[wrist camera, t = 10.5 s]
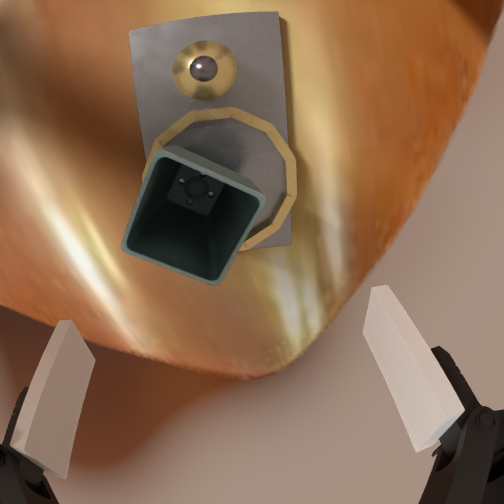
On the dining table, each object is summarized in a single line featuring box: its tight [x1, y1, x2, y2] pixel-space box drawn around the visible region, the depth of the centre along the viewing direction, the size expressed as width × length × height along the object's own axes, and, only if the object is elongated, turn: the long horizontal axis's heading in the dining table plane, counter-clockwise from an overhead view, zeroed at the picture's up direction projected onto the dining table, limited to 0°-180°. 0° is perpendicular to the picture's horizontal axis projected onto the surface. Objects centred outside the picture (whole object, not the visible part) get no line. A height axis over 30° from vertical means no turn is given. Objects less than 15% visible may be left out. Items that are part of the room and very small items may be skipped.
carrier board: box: [129, 12, 297, 251], centre depth 25 cm, size 15×25×8 cm, turn 5°
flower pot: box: [121, 145, 267, 286], centre depth 26 cm, size 9×9×9 cm
